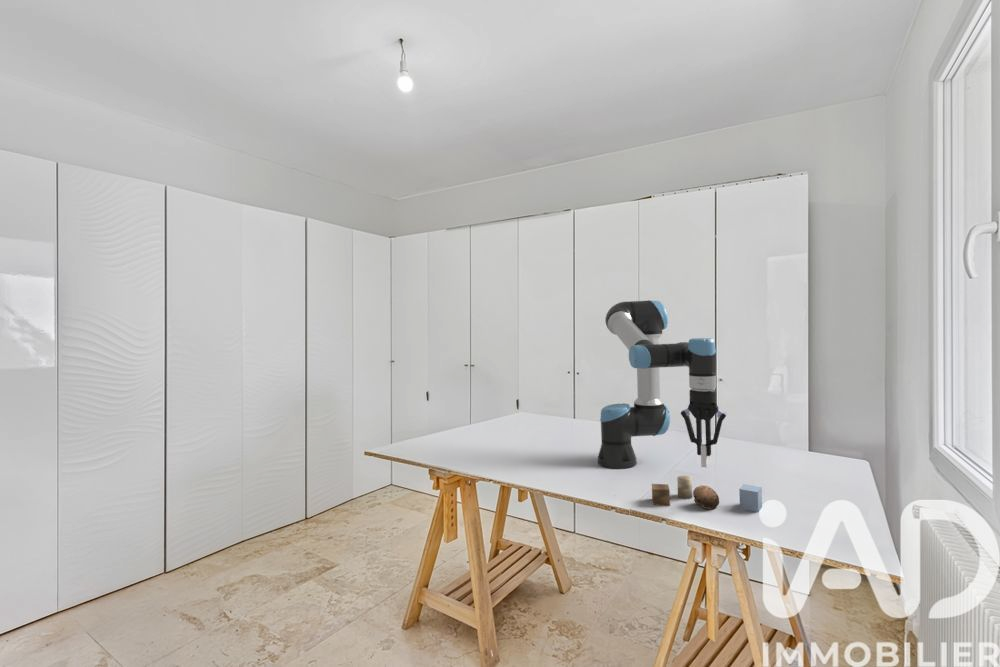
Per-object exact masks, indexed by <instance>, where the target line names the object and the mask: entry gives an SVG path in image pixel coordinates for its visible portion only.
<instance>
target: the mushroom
mask: <svg viewBox="0 0 1000 667" xmlns="http://www.w3.org/2000/svg"><path fill="white" fill-rule="evenodd" d="M692 496H693V498H694V503H695V504H697V505H700V506H701V507H702V508H704V509H708V510H714V509H716V508H717V507H718V506H719V505H720V497H719V495H718V493H717V492H716V491H715V490H714V488H712V487H710V486H708V485H704V484H703V485H702V484H701V485H698V486H696V487H695V488H694V490H692Z"/></svg>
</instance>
